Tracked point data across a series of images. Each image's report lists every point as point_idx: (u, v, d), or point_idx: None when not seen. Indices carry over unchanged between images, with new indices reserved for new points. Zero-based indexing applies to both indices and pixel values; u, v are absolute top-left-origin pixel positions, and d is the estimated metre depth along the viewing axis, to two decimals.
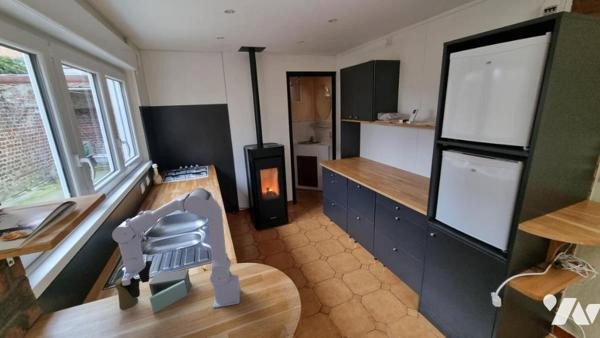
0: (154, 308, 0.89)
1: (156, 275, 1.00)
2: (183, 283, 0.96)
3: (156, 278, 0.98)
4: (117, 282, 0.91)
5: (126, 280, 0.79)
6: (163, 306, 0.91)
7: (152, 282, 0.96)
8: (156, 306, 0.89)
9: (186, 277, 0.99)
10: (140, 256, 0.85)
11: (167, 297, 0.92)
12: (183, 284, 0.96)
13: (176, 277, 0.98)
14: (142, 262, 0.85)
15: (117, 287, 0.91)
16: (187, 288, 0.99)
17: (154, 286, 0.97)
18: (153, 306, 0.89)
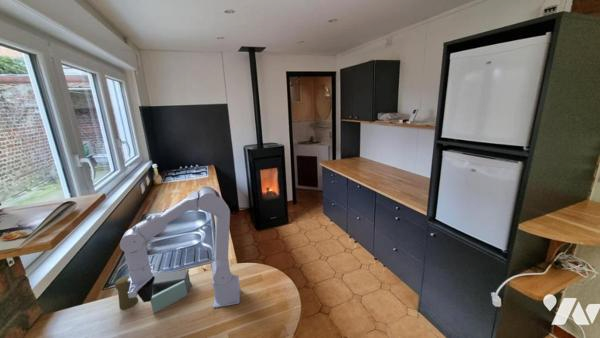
0: (154, 308, 0.89)
1: (156, 275, 1.00)
2: (183, 283, 0.96)
3: (156, 278, 0.98)
4: (117, 282, 0.91)
5: (132, 292, 0.74)
6: (163, 306, 0.91)
7: None
8: (156, 306, 0.89)
9: (186, 277, 0.99)
10: (147, 266, 0.80)
11: (167, 297, 0.92)
12: (183, 284, 0.96)
13: (176, 277, 0.98)
14: (149, 272, 0.80)
15: (117, 287, 0.91)
16: (187, 288, 0.99)
17: (154, 286, 0.97)
18: (153, 306, 0.89)
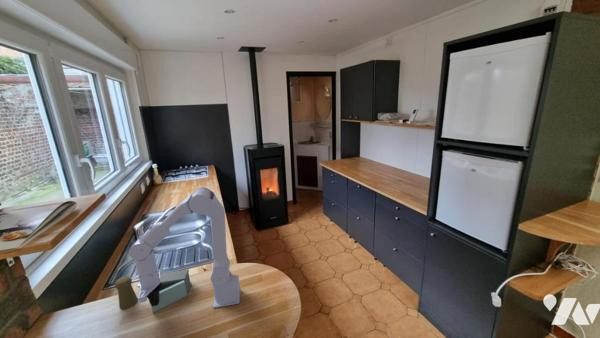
0: (153, 307, 0.89)
1: None
2: (183, 283, 0.95)
3: None
4: (118, 282, 0.91)
5: (143, 297, 0.80)
6: (162, 305, 0.92)
7: None
8: None
9: (186, 277, 0.99)
10: (155, 272, 0.85)
11: (167, 296, 0.92)
12: (183, 285, 0.96)
13: (176, 277, 0.98)
14: (157, 278, 0.86)
15: (117, 287, 0.91)
16: (187, 288, 0.99)
17: None
18: None
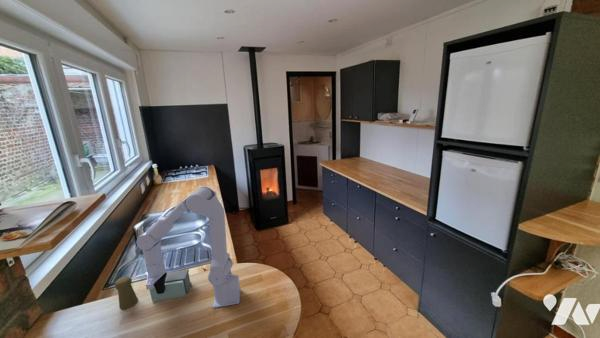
0: (152, 296, 0.95)
1: None
2: (180, 283, 0.95)
3: None
4: (117, 282, 0.91)
5: (150, 284, 0.85)
6: (161, 298, 0.95)
7: None
8: (154, 295, 0.95)
9: (186, 277, 0.99)
10: (162, 262, 0.91)
11: (164, 291, 0.95)
12: (180, 285, 0.96)
13: (176, 277, 0.98)
14: (163, 267, 0.92)
15: (117, 287, 0.91)
16: (187, 288, 0.99)
17: None
18: (151, 295, 0.95)
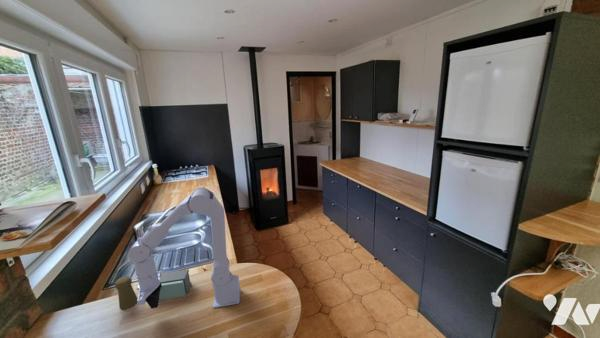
0: None
1: None
2: (180, 283, 0.95)
3: None
4: (117, 282, 0.91)
5: (141, 300, 0.79)
6: (161, 298, 0.95)
7: None
8: None
9: (186, 277, 0.99)
10: (155, 274, 0.84)
11: (165, 291, 0.95)
12: (180, 285, 0.96)
13: (176, 277, 0.98)
14: (156, 280, 0.85)
15: (117, 287, 0.91)
16: (187, 288, 0.99)
17: None
18: None
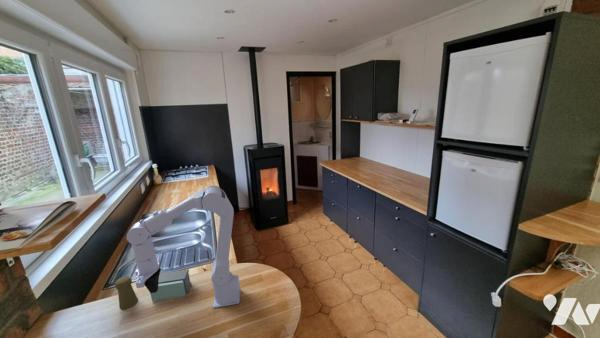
0: (152, 296, 0.95)
1: None
2: (180, 283, 0.95)
3: None
4: (117, 282, 0.91)
5: (140, 283, 0.77)
6: (161, 298, 0.95)
7: None
8: (154, 295, 0.95)
9: (186, 277, 0.99)
10: (153, 258, 0.83)
11: (165, 291, 0.95)
12: (180, 285, 0.96)
13: (176, 277, 0.98)
14: (155, 264, 0.83)
15: (117, 287, 0.91)
16: (187, 288, 0.99)
17: None
18: (151, 295, 0.95)
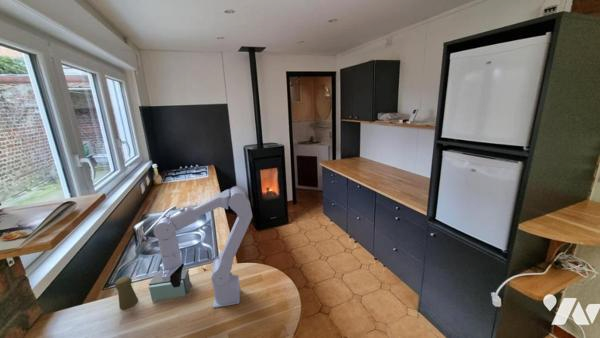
0: (152, 296, 0.95)
1: (156, 275, 1.00)
2: None
3: (156, 278, 0.98)
4: (117, 282, 0.91)
5: (166, 277, 0.79)
6: (161, 298, 0.95)
7: (152, 282, 0.96)
8: (154, 295, 0.95)
9: (186, 277, 0.99)
10: (178, 253, 0.85)
11: (165, 291, 0.95)
12: (180, 285, 0.96)
13: None
14: (179, 259, 0.85)
15: (117, 287, 0.91)
16: (187, 288, 0.99)
17: None
18: (151, 295, 0.95)
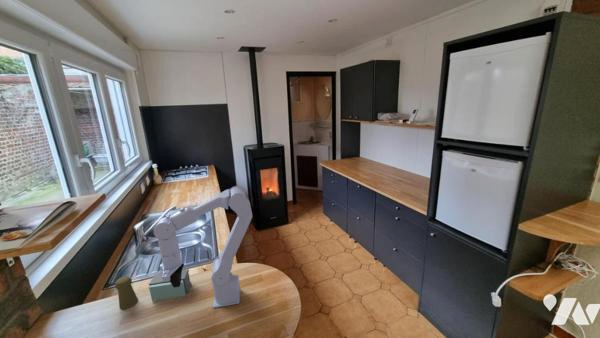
0: (152, 296, 0.95)
1: (156, 275, 1.00)
2: None
3: (156, 278, 0.98)
4: (117, 282, 0.91)
5: (166, 277, 0.79)
6: (161, 298, 0.95)
7: (152, 282, 0.96)
8: (154, 295, 0.95)
9: (186, 277, 0.99)
10: (178, 253, 0.85)
11: (165, 291, 0.95)
12: (180, 285, 0.96)
13: None
14: (179, 259, 0.85)
15: (117, 287, 0.91)
16: (187, 288, 0.99)
17: None
18: (151, 295, 0.95)
